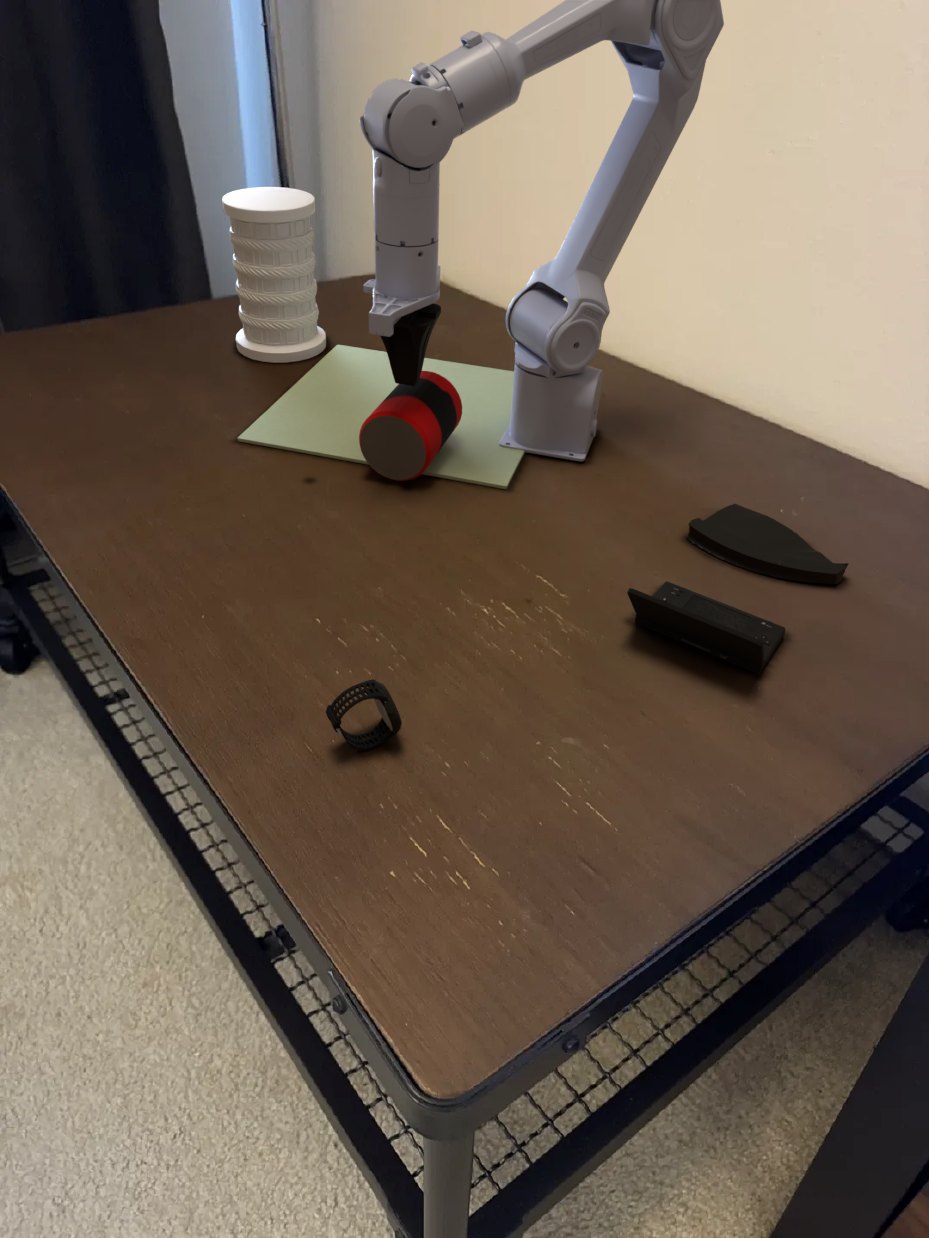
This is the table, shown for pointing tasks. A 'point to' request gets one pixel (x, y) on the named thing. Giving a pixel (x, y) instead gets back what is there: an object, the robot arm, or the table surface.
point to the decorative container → (275, 273)
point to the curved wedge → (762, 546)
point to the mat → (359, 382)
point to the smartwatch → (384, 706)
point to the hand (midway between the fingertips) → (406, 382)
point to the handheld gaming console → (708, 625)
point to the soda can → (410, 427)
